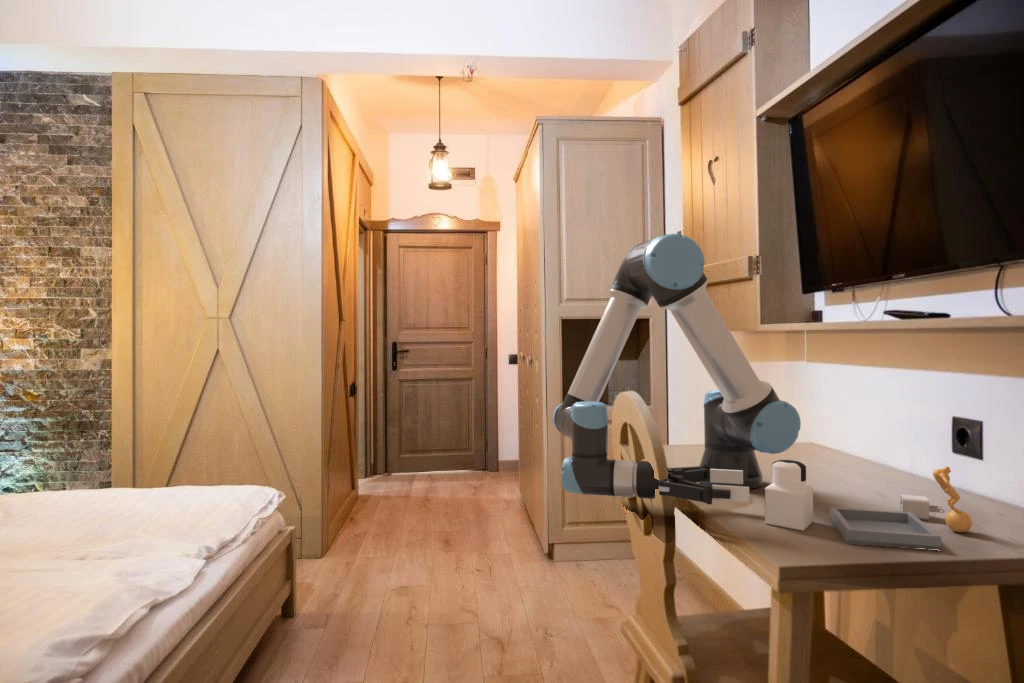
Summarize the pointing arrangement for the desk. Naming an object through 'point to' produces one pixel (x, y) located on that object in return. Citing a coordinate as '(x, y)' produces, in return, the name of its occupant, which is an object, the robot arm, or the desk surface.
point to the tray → (883, 528)
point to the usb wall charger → (917, 506)
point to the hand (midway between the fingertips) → (746, 485)
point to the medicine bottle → (789, 496)
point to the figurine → (952, 503)
